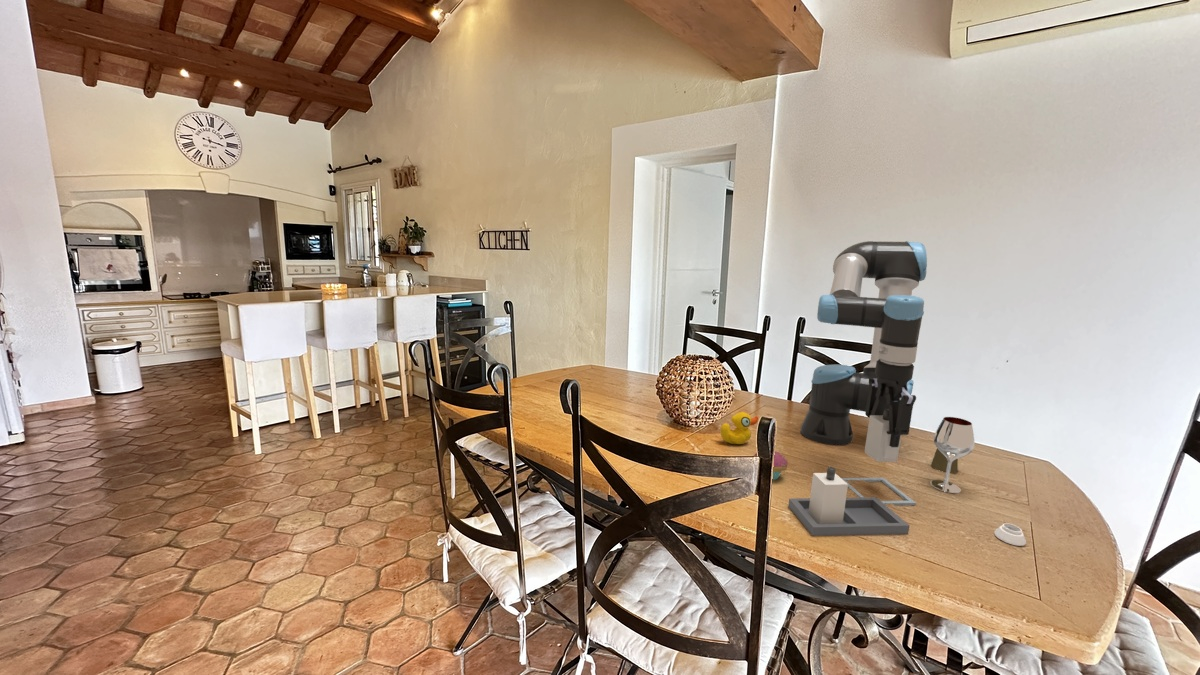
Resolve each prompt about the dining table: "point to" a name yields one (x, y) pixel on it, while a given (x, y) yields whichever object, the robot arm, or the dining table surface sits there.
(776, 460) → the cupcake
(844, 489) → the white plug
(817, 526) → the two-slot grey rack
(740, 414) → the duckling
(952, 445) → the wineglass
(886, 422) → the white block with peg
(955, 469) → the cork
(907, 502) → the square frame
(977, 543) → the dining table surface
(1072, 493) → the dining table surface
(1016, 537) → the white short tapered ring
